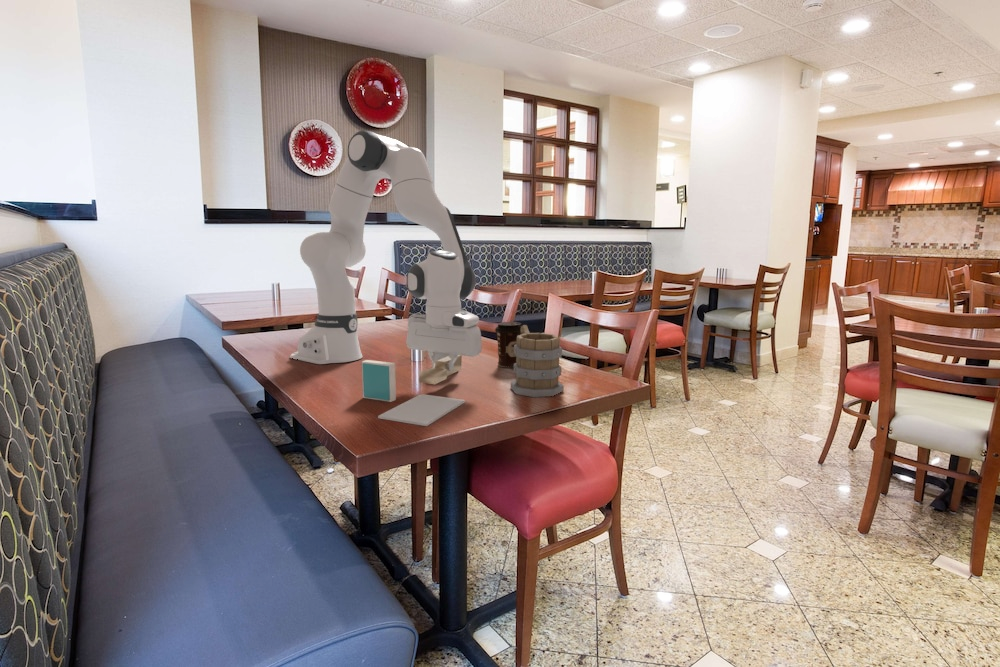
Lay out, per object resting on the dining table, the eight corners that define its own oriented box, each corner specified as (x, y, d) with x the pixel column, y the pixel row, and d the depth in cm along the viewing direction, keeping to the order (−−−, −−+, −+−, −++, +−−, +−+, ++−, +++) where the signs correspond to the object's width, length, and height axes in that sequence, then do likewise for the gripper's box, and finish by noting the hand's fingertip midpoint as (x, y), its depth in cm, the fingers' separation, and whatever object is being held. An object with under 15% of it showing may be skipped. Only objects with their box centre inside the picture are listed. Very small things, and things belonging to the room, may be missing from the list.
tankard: (568, 396, 136) (570, 336, 134) (518, 398, 134) (519, 337, 131) (545, 375, 156) (547, 323, 153) (501, 377, 153) (502, 324, 150)
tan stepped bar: (419, 382, 135) (419, 366, 134) (450, 367, 150) (450, 353, 149) (434, 384, 134) (434, 368, 133) (464, 369, 148) (464, 355, 147)
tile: (362, 398, 133) (361, 361, 131) (368, 395, 135) (366, 359, 133) (390, 402, 130) (389, 365, 128) (395, 399, 132) (395, 363, 130)
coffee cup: (528, 364, 168) (529, 322, 165) (515, 370, 161) (515, 326, 158) (503, 361, 172) (504, 320, 170) (489, 366, 165) (489, 323, 163)
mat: (377, 418, 119) (377, 416, 118) (421, 395, 135) (421, 393, 135) (426, 426, 114) (426, 423, 114) (465, 402, 130) (465, 400, 130)
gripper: (401, 314, 140) (401, 367, 142) (473, 321, 132) (472, 377, 135) (414, 311, 146) (414, 362, 148) (484, 317, 138) (483, 371, 140)
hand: (443, 369), depth 141 cm, fingers closed on tan stepped bar, 2 cm apart
